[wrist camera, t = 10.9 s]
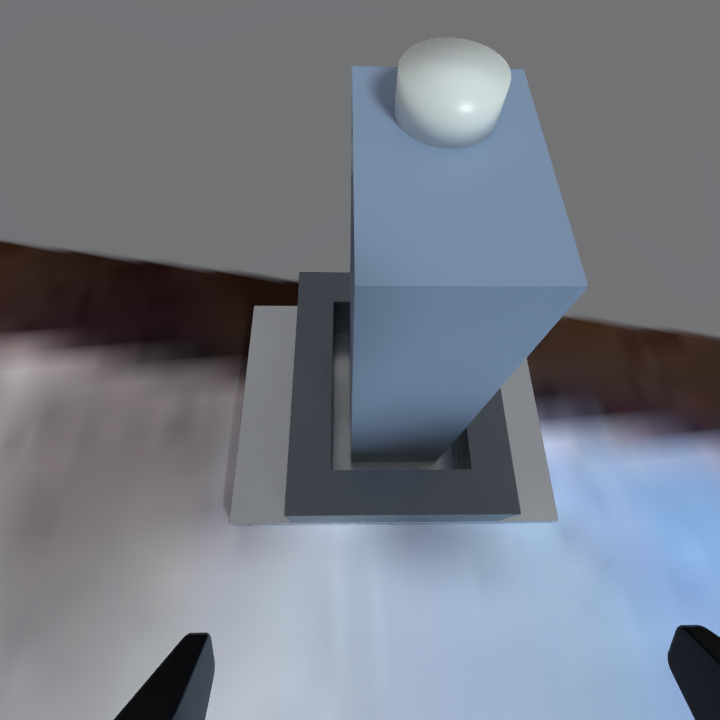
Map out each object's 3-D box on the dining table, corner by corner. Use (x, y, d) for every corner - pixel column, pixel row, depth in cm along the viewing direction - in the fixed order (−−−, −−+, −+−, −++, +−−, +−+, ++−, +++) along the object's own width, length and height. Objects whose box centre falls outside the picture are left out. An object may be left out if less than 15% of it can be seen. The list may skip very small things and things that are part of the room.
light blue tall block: (436, 461, 18) (618, 252, 6) (350, 462, 18) (355, 250, 6) (426, 344, 20) (538, 25, 8) (350, 344, 20) (352, 21, 8)
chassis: (549, 522, 18) (593, 513, 15) (233, 525, 17) (208, 516, 14) (511, 315, 22) (537, 274, 19) (257, 314, 22) (241, 271, 18)
